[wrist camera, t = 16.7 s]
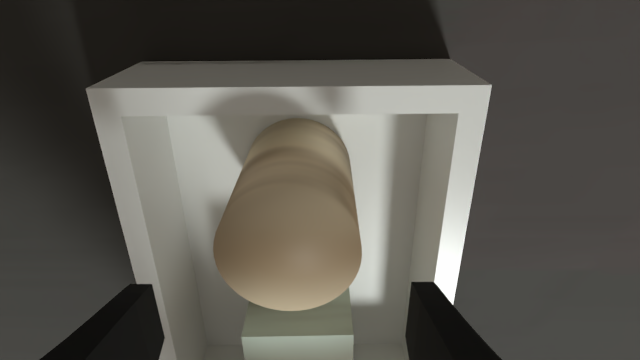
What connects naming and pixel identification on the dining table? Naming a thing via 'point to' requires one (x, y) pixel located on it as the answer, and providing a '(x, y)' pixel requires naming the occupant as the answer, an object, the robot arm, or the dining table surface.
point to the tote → (229, 157)
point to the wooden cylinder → (291, 220)
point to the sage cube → (300, 332)
